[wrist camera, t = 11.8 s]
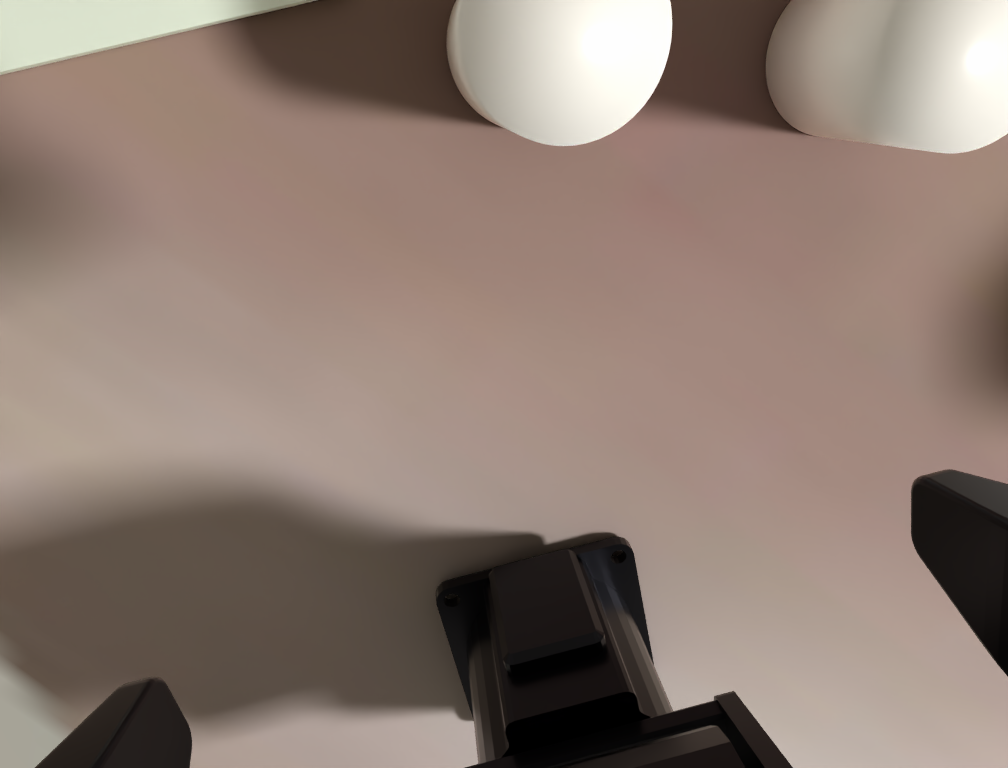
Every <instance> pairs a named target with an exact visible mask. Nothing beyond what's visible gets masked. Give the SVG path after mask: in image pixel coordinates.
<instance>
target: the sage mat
mask: <svg viewBox="0 0 1008 768" xmlns="http://www.w3.org/2000/svg"><path fill="white" fill-rule="evenodd" d="M313 1H317V0H0V75H3V74H7V73H11V72H15V71H20V70H24V69H28V68H32V67H37V66H41V65H45V64H49V63H54V62H58V61H62V60H66V59H71V58H75V57H79V56H83V55H88V54H92V53H96V52H100V51H105V50H109V49H113V48H117V47H122V46H126V45H130V44H134V43H139V42H143V41H147V40H151V39H156V38H160V37H164V36H168V35H173V34H177V33H181V32H185V31H190V30H194V29H198V28H202V27H207V26H211V25H215V24H219V23H224V22H228V21H232V20H236V19H241V18H245V17H249V16H253V15H258V14H262V13H266V12H270V11H275V10H279V9H283V8H287V7H292V6H296V5H300V4H304V3H309V2H313Z"/></svg>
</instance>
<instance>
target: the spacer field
mask: <svg viewBox="0 0 1008 768" xmlns="http://www.w3.org/2000/svg"><path fill="white" fill-rule="evenodd" d="M671 38H672V10H671V3H670V0H456V2H455V4H454V6H453V9H452V12H451V15H450V18H449V23H448V28H447V39H446V45H447V57H448V63H449V67H450V70H451V74H452V77H453V79H454V81H455V83H456V86H457V88H458V89H459V91H460V93H461V94H462V96H463V97H464V99H465V100H466V101H467V102H468V104H469V105H470V106H471V107H472V108H473V109H474V110H475V111H476V112H477V113H479V114H480V115H481V116H483V117H484V118H485V119H487V120H489V121H491V122H492V123H494V124H496V125H498V126H501V127H503V128H505V129H507V130H509V131H511V132H514V133H516V134H518V135H520V136H522V137H525V138H527V139H530V140H532V141H535V142H539V143H543V144H547V145H555V146H574V145H579V144H585V143H589V142H592V141H595V140H598V139H601V138H603V137H605V136H607V135H609V134H611V133H613V132H614V131H616V130H617V129H619V128H621V127H622V126H623V125H625V124H626V123H627V122H628V121H629V120H631V119H632V118H633V117H634V116H635V115H636V114H637V113H638V112H639V111H640V110H641V108H642V107H643V106H644V105H645V103H646V102H647V101H648V99H649V98H650V97H651V95H652V93H653V92H654V90H655V88H656V86H657V85H658V83H659V81H660V78H661V76H662V74H663V71H664V69H665V65H666V62H667V59H668V55H669V50H670V44H671ZM766 80H767V86H768V90H769V94H770V97H771V99H772V102H773V104H774V106H775V107H776V109H777V111H778V112H779V114H780V115H781V116H782V117H783V119H784V120H785V121H787V122H788V123H789V124H790V125H791V126H792V127H794V128H795V129H797V130H799V131H801V132H803V133H805V134H808V135H812V136H817V137H824V138H832V139H839V140H847V141H855V142H862V143H870V144H877V145H885V146H893V147H900V148H908V149H916V150H923V151H931V152H939V153H962V152H968V151H972V150H975V149H978V148H982V147H984V146H986V145H988V144H991V143H993V142H995V141H996V140H998V139H1000V138H1001V137H1003V136H1005V135H1006V134H1008V0H791V1H790V3H789V4H788V5H787V6H786V8H785V9H784V11H783V12H782V14H781V16H780V17H779V19H778V21H777V23H776V25H775V27H774V29H773V32H772V35H771V38H770V41H769V45H768V49H767V55H766Z"/></svg>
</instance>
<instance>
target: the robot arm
mask: <svg viewBox="0 0 1008 768" xmlns="http://www.w3.org/2000/svg"><path fill="white" fill-rule="evenodd" d="M911 536H912V541H913V544H914V547H915V549H916V551H917V553H918V555H919V556H920V558H921V559H922V561H923V562H924V564H925V565H926V566H927V568H928V569H929V570H930V572H931V573H932V575H933V576H934V577H935V579H936V580H937V582H938V583H939V584H940V586H941V587H942V589H943V590H944V591H945V593H946V594H947V596H948V597H949V598H950V600H951V601H952V603H953V604H954V605H955V607H956V608H957V610H958V611H959V612H960V614H961V615H962V616H963V618H964V619H965V621H966V622H967V623H968V625H969V626H970V628H971V629H972V630H973V632H974V633H975V635H976V636H977V637H978V639H979V640H980V642H981V643H982V644H983V646H984V647H985V648H986V650H987V651H988V652H989V654H990V655H991V656H992V658H993V659H994V660H995V661H996V663H997V664H998V665H999V666H1000V668H1001V669H1002V670H1003V671H1004V672H1005V674H1006V675H1007V676H1008V484H1005V483H1002V482H998V481H994V480H990V479H986V478H983V477H979V476H975V475H971V474H967V473H964V472H960V471H956V470H942V471H938V472H935V473H931V474H927V475H923V476H920V477H918V478H917V479H915V481H914V482H913V484H912V489H911ZM620 550H622V551H623V552H622V553H621V554H620V555H618V556H611V555H612V554H613V553H614V552H616V551H620ZM449 594H455V595H458V596H457V597H456V598H454V599H448V598H445V597H446V596H447V595H449ZM436 601H437V607H438V610H439V613H440V616H441V619H442V622H443V626H444V629H445V632H446V635H447V638H448V641H449V644H450V647H451V651H452V654H453V657H454V660H455V663H456V666H457V669H458V672H459V675H460V679H461V682H462V685H463V688H464V691H465V694H466V697H467V700H468V704H469V707H470V710H471V713H472V716H473V719H474V726H475V736H476V745H477V754H478V764H476V765H473V766H469V767H465V768H793V767H792V766H791V765H790V763H789V762H788V761H787V759H786V758H785V757H784V756H783V754H782V753H781V752H780V750H779V749H778V748H777V746H776V745H775V744H774V743H773V741H772V740H771V739H770V737H769V736H768V735H767V733H766V732H765V731H764V730H763V728H762V727H761V726H760V724H759V723H758V722H757V720H756V719H755V718H754V717H753V715H752V714H751V713H750V711H749V710H748V709H747V707H746V706H745V705H744V703H743V702H742V701H741V700H740V698H739V697H738V696H737V694H736V693H735V692H734V691H732V692H728V693H724V694H721V695H717V696H714V701H710V702H707V703H703V704H699V705H696V706H692V707H688V708H684V709H681V710H677V711H673V710H672V707H671V705H670V702H669V700H668V698H667V695H666V693H665V691H664V688H663V686H662V684H661V681H660V679H659V677H658V674H657V672H656V670H655V667H654V663H653V657H652V652H651V646H650V641H649V635H648V630H647V624H646V619H645V613H644V608H643V602H642V597H641V591H640V586H639V580H638V575H637V569H636V563H635V558H634V553H633V551H632V548H631V546H630V544H629V542H628V541H627V540H626V539H624V538H621V537H613V538H609V539H605V540H601V541H597V542H593V543H589V544H586V545H582V546H578V547H574V548H570V549H563V550H559V551H556V552H552V553H548V554H544V555H540V556H536V557H533V558H529V559H525V560H521V561H517V562H513V563H509V564H506V565H502V566H498V567H495V568H493V569H489V570H486V571H482V572H478V573H474V574H470V575H466V576H462V577H459V578H455V579H451V580H447V581H445V582H443V583H441V584H440V585H439V586H438V588H437V590H436ZM191 751H192V737H191V732H190V728H189V725H188V723H187V721H186V719H185V717H184V716H183V714H182V712H181V710H180V708H179V706H178V705H177V703H176V701H175V699H174V697H173V695H172V693H171V692H170V690H169V688H168V686H167V685H166V683H165V682H164V681H163V680H162V679H161V678H159V677H149V678H146V679H142V680H138V681H134V682H130V683H127V684H124V685H122V686H120V687H119V688H118V689H116V690H115V691H114V692H113V693H112V694H111V695H110V696H109V697H108V698H107V699H106V700H105V701H104V702H103V703H102V704H101V705H100V706H99V707H98V708H97V709H96V710H95V711H94V712H92V713H91V714H90V715H89V716H88V717H87V718H86V719H85V720H84V721H83V722H82V723H81V724H80V725H79V726H78V727H77V728H76V729H75V730H74V731H73V732H72V733H71V734H70V735H68V736H67V737H66V738H65V739H64V740H63V741H62V742H61V743H60V744H59V745H58V746H57V747H56V748H55V749H54V750H53V751H52V752H51V753H50V754H49V755H48V756H47V757H46V758H45V759H43V760H42V761H41V762H40V763H39V764H38V765H37V766H36V767H35V768H190V759H191Z"/></svg>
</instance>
